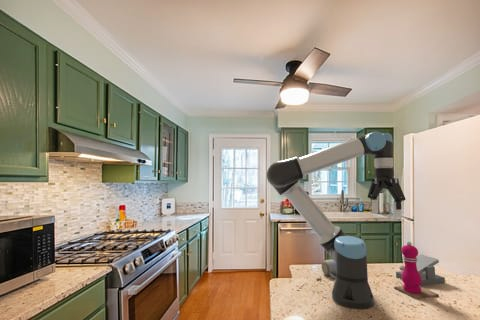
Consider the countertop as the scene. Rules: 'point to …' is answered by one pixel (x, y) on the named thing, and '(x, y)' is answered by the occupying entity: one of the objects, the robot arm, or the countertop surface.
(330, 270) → the ceramic mug
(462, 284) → the countertop surface
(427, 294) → the coaster
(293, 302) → the countertop surface
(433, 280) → the switch housing
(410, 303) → the countertop surface
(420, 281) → the pepper mill
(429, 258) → the breaker rocker
